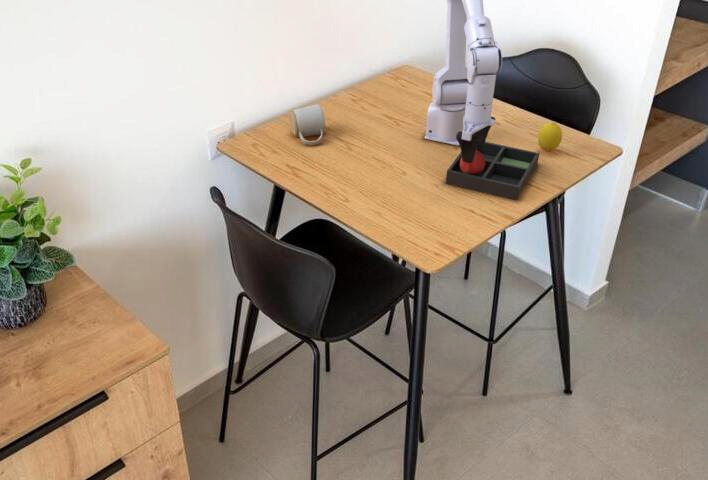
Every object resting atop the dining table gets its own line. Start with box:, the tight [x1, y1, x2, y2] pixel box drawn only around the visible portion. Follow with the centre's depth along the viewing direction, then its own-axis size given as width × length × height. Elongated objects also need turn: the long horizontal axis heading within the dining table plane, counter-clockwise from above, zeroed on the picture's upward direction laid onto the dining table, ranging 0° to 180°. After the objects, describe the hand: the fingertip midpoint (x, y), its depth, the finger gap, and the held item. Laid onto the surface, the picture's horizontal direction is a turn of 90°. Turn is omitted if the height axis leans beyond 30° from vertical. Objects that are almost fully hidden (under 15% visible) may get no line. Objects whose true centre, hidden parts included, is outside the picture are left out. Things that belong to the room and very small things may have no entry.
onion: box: [460, 149, 485, 176], centre depth 179 cm, size 6×6×8 cm
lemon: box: [537, 121, 563, 153], centre depth 188 cm, size 6×6×8 cm
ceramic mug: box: [289, 103, 326, 146], centre depth 199 cm, size 11×8×8 cm
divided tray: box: [445, 141, 541, 201], centre depth 182 cm, size 17×17×4 cm
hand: (472, 154), depth 178 cm, fingers open, 7 cm apart
